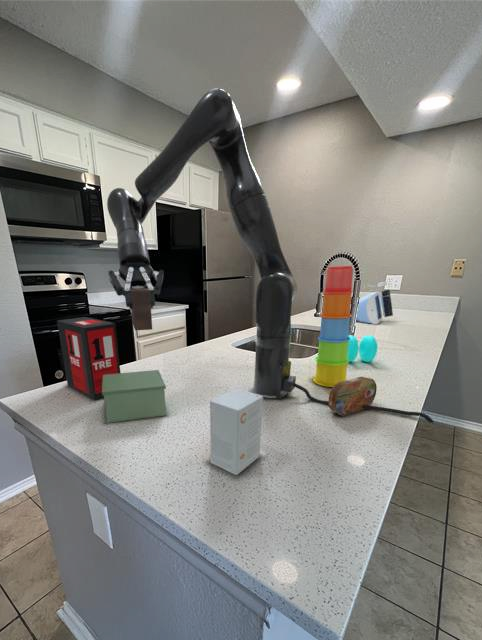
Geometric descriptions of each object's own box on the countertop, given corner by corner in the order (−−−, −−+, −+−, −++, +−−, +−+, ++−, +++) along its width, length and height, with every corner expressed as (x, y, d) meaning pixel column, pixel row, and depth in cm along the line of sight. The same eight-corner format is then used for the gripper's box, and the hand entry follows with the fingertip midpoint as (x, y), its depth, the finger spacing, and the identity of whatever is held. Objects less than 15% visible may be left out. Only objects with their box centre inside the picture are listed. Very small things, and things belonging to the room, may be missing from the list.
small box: (234, 445, 67) (236, 387, 62) (260, 456, 63) (264, 395, 58) (209, 463, 61) (209, 400, 56) (236, 476, 57) (238, 410, 52)
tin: (333, 418, 78) (338, 386, 75) (323, 413, 81) (328, 382, 78) (374, 406, 84) (380, 376, 81) (364, 402, 87) (369, 373, 84)
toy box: (160, 396, 91) (158, 369, 88) (167, 415, 80) (165, 385, 77) (106, 402, 87) (102, 374, 84) (105, 423, 76) (101, 392, 73)
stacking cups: (329, 390, 95) (346, 266, 83) (306, 379, 104) (319, 265, 92) (354, 385, 99) (375, 265, 87) (330, 375, 108) (345, 265, 96)
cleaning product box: (67, 385, 99) (56, 320, 92) (94, 378, 105) (85, 316, 98) (94, 400, 89) (84, 328, 82) (122, 391, 95) (115, 323, 88)
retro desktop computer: (388, 279, 199) (391, 280, 185) (393, 316, 205) (396, 320, 190) (344, 290, 210) (344, 292, 196) (350, 325, 216) (350, 329, 201)
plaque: (132, 323, 84) (129, 287, 80) (148, 322, 85) (145, 286, 81) (135, 330, 75) (131, 290, 71) (153, 329, 76) (150, 290, 72)
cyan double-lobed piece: (375, 365, 118) (381, 338, 114) (348, 365, 118) (352, 338, 115) (363, 357, 127) (368, 332, 124) (338, 357, 127) (342, 332, 124)
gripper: (103, 240, 77) (109, 297, 71) (161, 241, 81) (172, 295, 75) (105, 263, 84) (111, 317, 78) (159, 263, 88) (169, 314, 81)
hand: (141, 306), depth 76 cm, fingers closed on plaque, 4 cm apart
